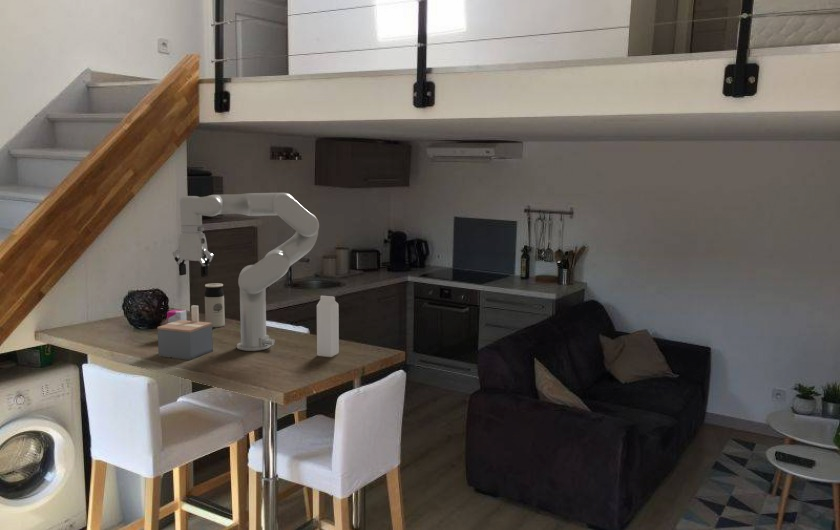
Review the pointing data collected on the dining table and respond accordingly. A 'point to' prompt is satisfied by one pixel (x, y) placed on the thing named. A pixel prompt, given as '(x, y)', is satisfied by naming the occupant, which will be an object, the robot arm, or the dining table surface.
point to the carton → (185, 343)
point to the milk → (327, 326)
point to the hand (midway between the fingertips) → (193, 275)
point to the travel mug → (214, 305)
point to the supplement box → (176, 315)
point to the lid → (186, 323)
